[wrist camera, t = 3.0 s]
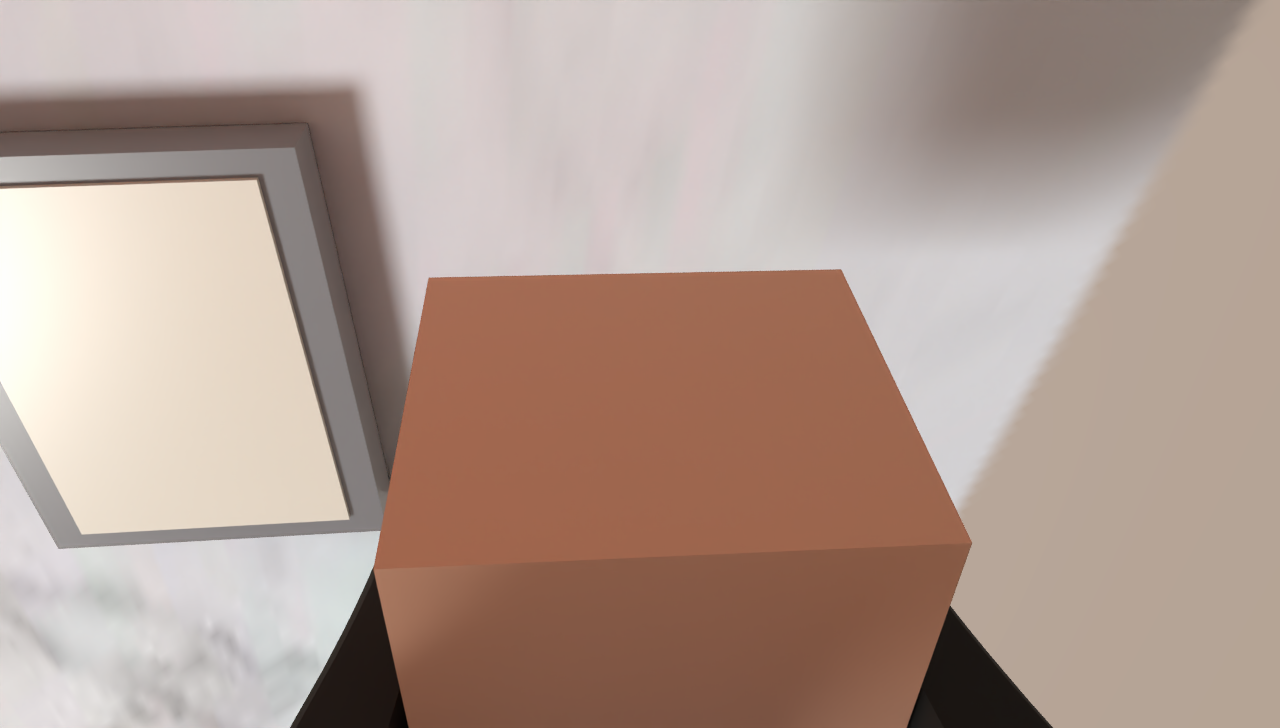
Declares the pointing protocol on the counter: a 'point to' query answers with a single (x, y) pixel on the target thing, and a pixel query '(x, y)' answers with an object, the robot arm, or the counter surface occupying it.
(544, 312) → the terracotta brick
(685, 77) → the counter surface
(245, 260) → the baseplate
